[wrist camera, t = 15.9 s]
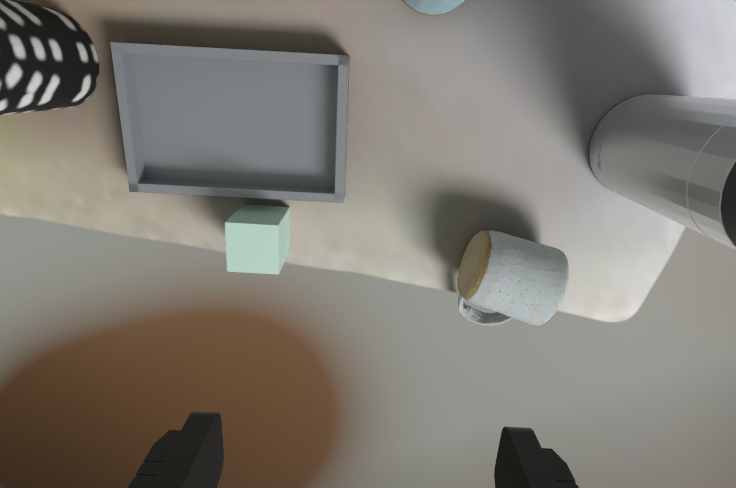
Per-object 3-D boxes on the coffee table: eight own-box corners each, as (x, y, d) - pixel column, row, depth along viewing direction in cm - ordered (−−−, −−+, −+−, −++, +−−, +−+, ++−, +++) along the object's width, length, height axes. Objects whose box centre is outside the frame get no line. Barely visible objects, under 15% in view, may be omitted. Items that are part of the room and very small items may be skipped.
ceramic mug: (473, 215, 45) (492, 243, 38) (550, 237, 46) (582, 269, 39) (438, 306, 49) (449, 347, 42) (509, 325, 50) (532, 369, 42)
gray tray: (349, 56, 40) (348, 55, 38) (344, 196, 44) (343, 202, 42) (125, 44, 40) (110, 42, 38) (142, 185, 44) (129, 191, 42)
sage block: (289, 206, 45) (278, 225, 39) (289, 250, 47) (278, 274, 41) (243, 204, 45) (224, 222, 39) (244, 247, 46) (227, 271, 41)
